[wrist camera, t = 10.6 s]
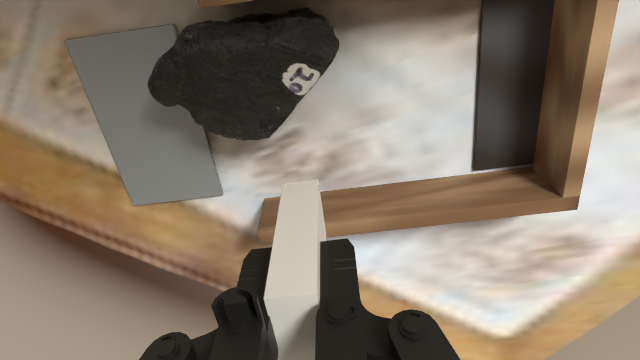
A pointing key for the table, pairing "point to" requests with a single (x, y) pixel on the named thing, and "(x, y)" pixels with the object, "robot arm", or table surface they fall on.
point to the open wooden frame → (500, 125)
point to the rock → (245, 70)
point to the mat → (144, 117)
